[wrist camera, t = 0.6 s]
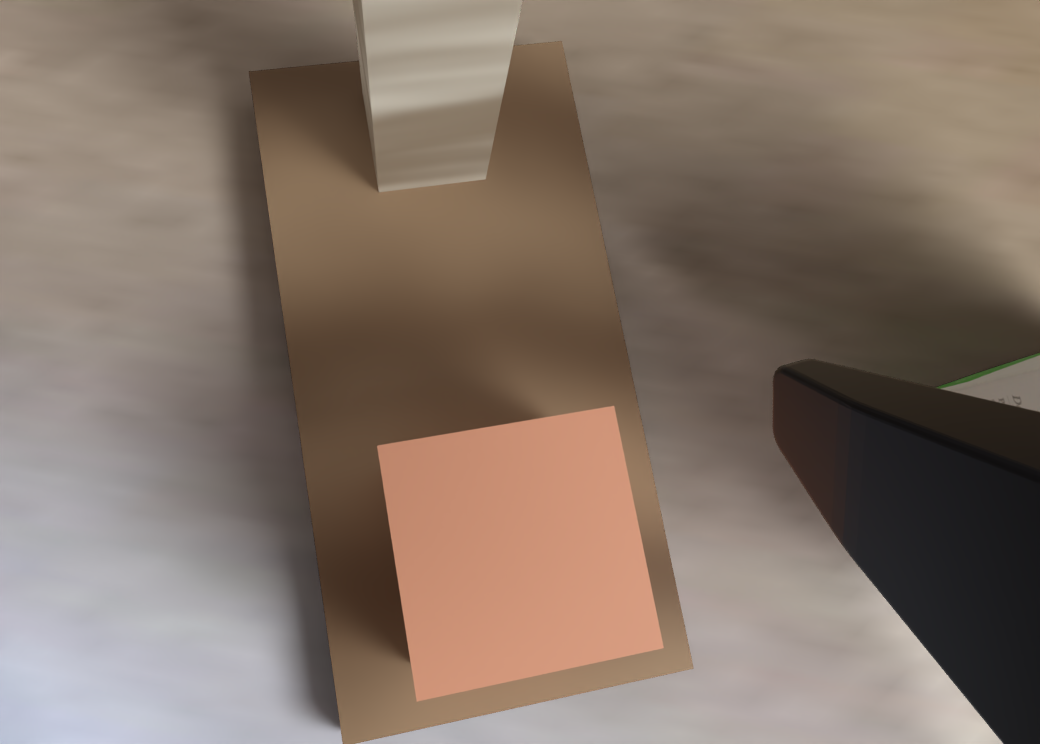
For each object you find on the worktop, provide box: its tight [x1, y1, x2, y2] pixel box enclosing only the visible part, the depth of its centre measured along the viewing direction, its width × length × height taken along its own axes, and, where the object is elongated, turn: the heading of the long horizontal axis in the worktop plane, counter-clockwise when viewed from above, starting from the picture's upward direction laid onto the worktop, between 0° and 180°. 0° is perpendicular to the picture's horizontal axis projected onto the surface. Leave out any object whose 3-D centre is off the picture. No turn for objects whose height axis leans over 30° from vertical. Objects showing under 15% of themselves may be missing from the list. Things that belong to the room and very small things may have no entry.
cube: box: [377, 406, 664, 702], centre depth 20 cm, size 5×5×5 cm
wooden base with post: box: [249, 0, 693, 744], centre depth 19 cm, size 18×9×10 cm, turn 10°
